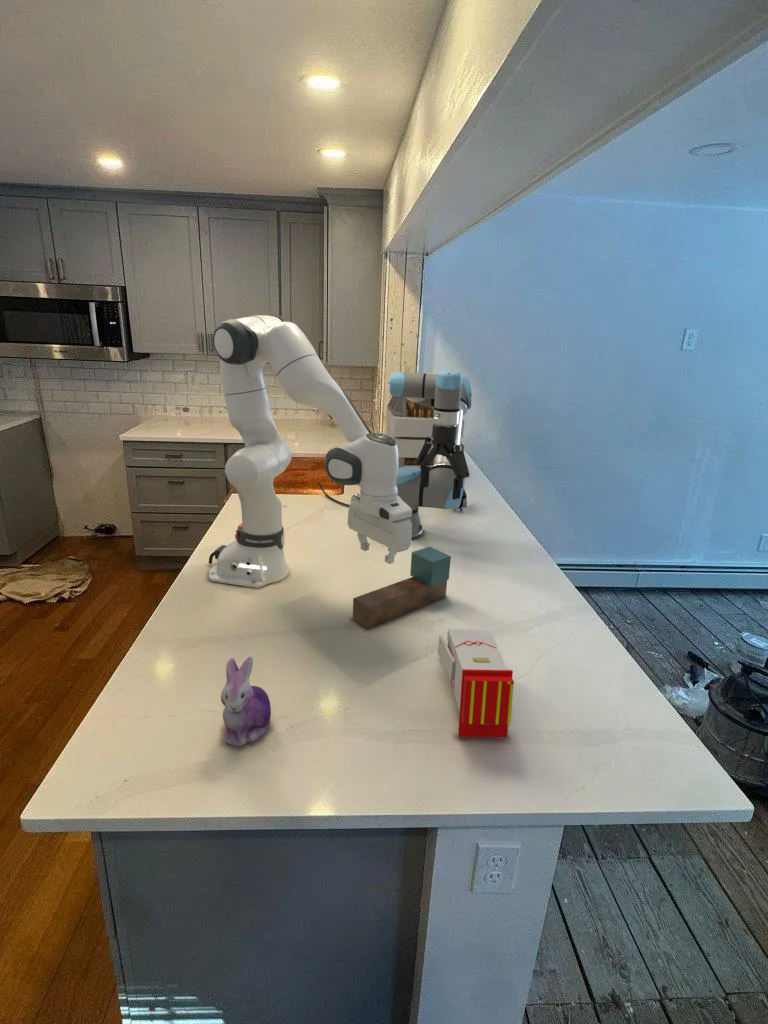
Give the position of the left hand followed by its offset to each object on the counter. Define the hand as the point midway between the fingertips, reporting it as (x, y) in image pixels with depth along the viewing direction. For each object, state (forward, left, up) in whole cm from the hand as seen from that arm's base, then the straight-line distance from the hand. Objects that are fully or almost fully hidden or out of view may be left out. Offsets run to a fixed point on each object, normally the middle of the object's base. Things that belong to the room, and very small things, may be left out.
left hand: (376, 556), depth 139 cm
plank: (+7, +6, -18) cm, 20 cm away
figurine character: (+30, +90, -18) cm, 97 cm away
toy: (+21, -28, -18) cm, 39 cm away
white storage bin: (+16, +139, -18) cm, 141 cm away
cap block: (+14, +13, -12) cm, 23 cm away
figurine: (-22, -42, -18) cm, 51 cm away
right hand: (+18, +41, +4) cm, 44 cm away
